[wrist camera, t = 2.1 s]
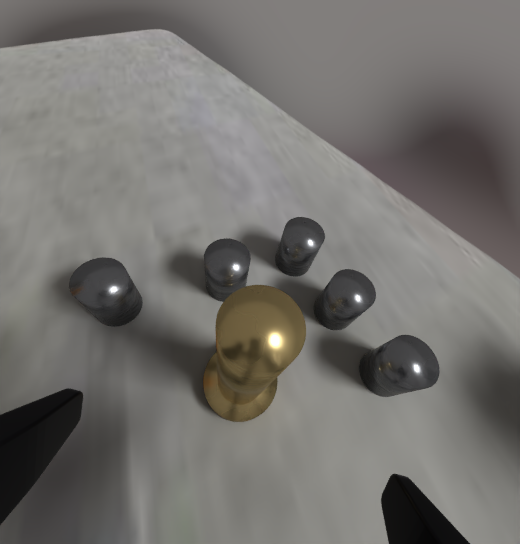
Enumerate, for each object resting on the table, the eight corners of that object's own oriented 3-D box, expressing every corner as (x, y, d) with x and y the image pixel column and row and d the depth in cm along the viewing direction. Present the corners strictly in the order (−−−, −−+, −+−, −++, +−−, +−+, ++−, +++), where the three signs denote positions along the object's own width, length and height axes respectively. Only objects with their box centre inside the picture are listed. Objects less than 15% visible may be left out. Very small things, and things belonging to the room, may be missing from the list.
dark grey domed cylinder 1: (358, 323, 22) (384, 302, 18) (324, 335, 21) (345, 315, 17) (339, 289, 23) (360, 264, 20) (307, 299, 22) (323, 275, 19)
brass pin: (285, 405, 18) (358, 371, 8) (215, 434, 16) (209, 434, 7) (260, 337, 20) (296, 252, 11) (196, 359, 18) (172, 281, 9)
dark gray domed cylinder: (251, 296, 22) (256, 270, 18) (212, 306, 21) (211, 281, 17) (238, 264, 23) (242, 234, 20) (202, 272, 22) (199, 243, 19)
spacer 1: (145, 318, 19) (129, 294, 16) (97, 331, 19) (69, 309, 15) (139, 282, 21) (123, 252, 18) (94, 292, 20) (68, 264, 17)
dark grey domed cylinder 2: (409, 387, 19) (450, 377, 16) (374, 404, 18) (409, 397, 15) (385, 345, 21) (417, 328, 17) (351, 359, 20) (378, 343, 17)
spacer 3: (315, 271, 24) (331, 244, 20) (283, 280, 23) (294, 253, 19) (300, 243, 25) (313, 214, 22) (269, 251, 24) (278, 221, 21)
